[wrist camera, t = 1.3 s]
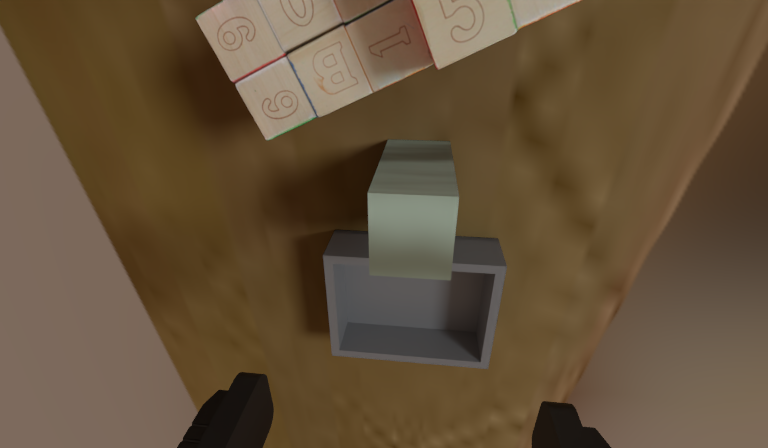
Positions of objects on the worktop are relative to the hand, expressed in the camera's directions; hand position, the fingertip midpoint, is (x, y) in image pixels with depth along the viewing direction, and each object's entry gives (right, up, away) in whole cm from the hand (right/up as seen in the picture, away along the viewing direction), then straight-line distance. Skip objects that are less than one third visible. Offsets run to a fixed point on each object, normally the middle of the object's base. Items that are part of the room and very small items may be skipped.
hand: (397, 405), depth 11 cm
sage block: (+2, +9, +17) cm, 20 cm away
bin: (+2, 0, +22) cm, 22 cm away
